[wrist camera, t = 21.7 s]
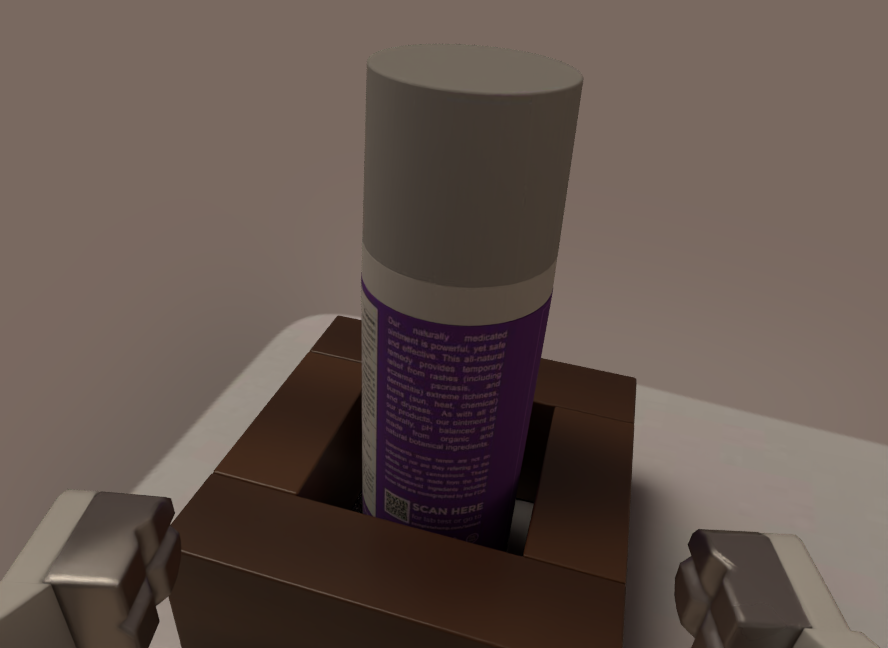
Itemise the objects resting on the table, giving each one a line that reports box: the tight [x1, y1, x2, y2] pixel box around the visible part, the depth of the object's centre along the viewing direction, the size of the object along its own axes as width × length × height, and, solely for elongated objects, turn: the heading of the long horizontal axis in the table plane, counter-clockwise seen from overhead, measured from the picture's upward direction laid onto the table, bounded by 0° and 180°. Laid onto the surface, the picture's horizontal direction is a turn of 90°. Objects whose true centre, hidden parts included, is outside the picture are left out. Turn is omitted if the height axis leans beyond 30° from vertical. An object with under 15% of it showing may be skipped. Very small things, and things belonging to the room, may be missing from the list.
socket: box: [168, 316, 636, 648], centre depth 20 cm, size 11×11×4 cm
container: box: [361, 44, 583, 552], centre depth 18 cm, size 5×5×15 cm
